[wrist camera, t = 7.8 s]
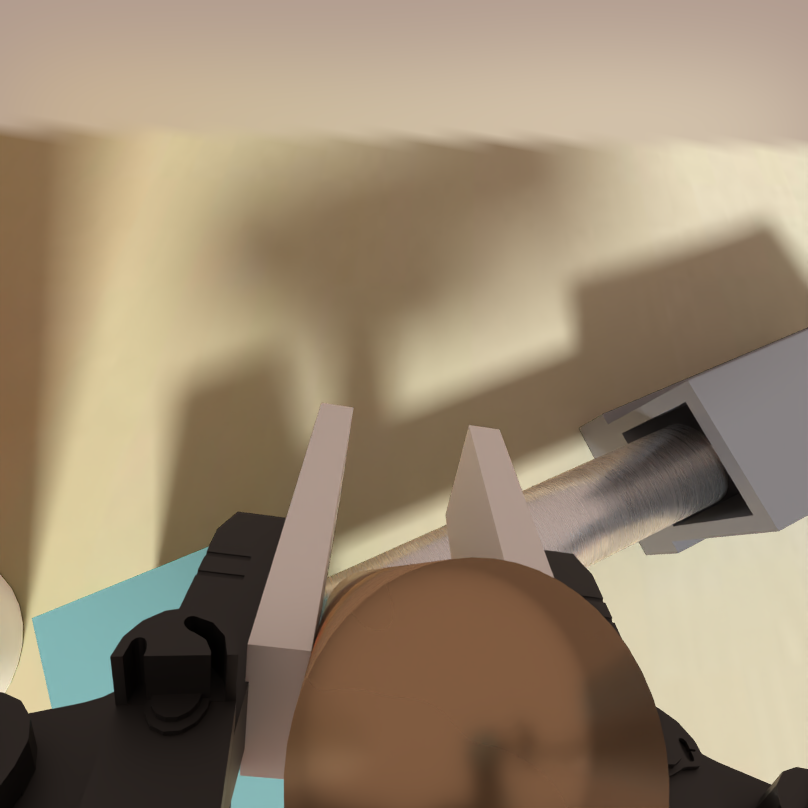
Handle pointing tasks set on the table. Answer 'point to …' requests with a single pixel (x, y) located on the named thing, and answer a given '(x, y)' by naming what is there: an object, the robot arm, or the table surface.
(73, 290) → the table surface
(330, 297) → the table surface
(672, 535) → the outer sleeve
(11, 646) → the cylindrical container
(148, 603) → the end socket
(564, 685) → the sliding bolt
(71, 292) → the table surface
